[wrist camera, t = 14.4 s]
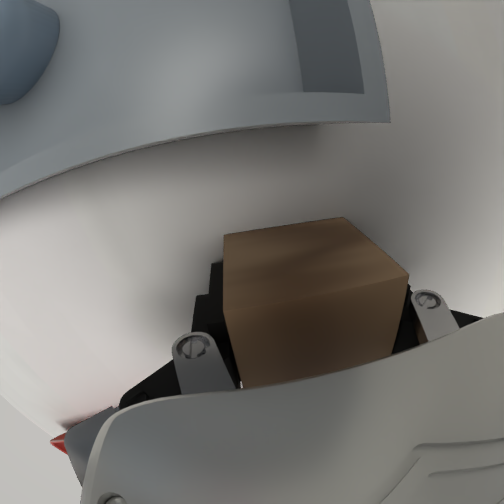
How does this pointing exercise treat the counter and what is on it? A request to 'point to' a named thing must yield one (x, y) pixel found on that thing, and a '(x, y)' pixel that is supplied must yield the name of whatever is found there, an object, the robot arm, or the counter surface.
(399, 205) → the counter surface
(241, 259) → the walnut cube
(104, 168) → the counter surface
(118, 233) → the counter surface
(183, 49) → the tote
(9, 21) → the blue cylinder
